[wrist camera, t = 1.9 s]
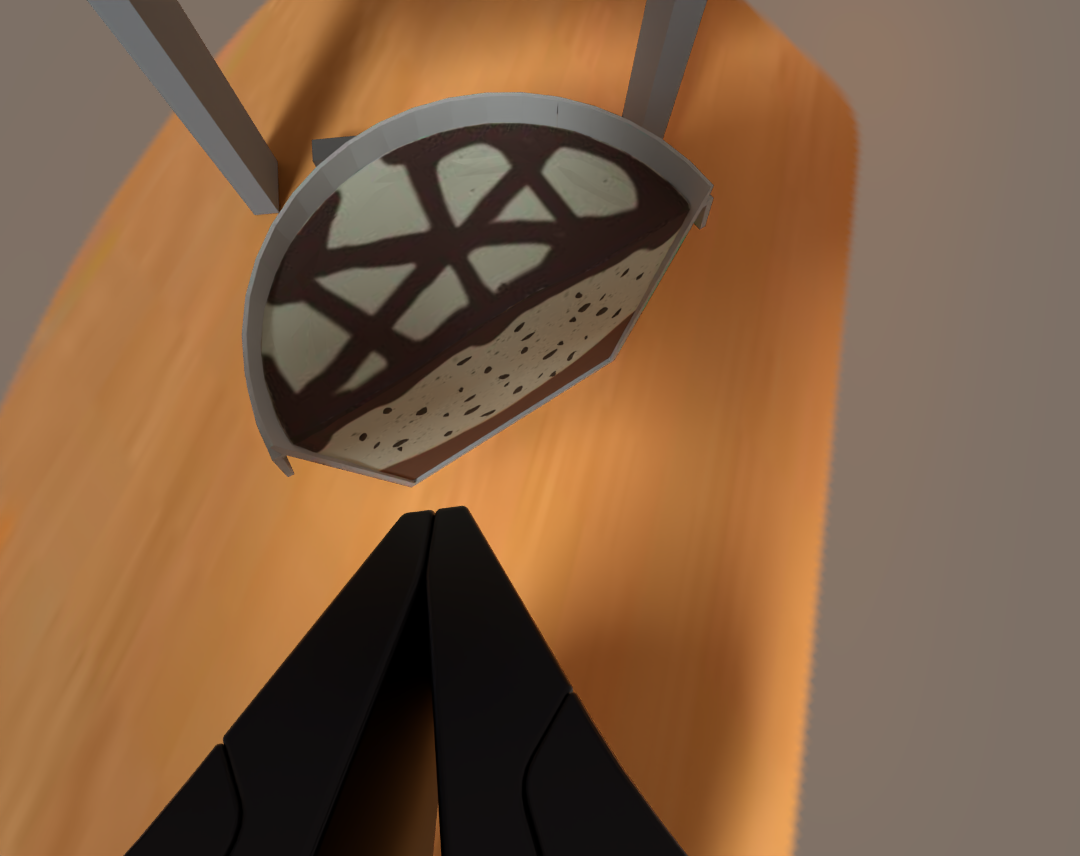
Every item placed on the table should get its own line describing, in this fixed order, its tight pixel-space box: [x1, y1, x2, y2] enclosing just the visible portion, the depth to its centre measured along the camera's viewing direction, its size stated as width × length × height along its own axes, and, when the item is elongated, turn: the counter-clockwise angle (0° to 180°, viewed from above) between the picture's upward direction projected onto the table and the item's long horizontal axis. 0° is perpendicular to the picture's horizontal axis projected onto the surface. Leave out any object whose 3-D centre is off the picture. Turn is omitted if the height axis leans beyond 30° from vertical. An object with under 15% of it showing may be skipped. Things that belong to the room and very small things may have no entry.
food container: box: [242, 92, 714, 487], centre depth 17 cm, size 12×6×10 cm, turn 123°
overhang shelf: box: [87, 0, 707, 215], centre depth 17 cm, size 6×17×15 cm, turn 97°
